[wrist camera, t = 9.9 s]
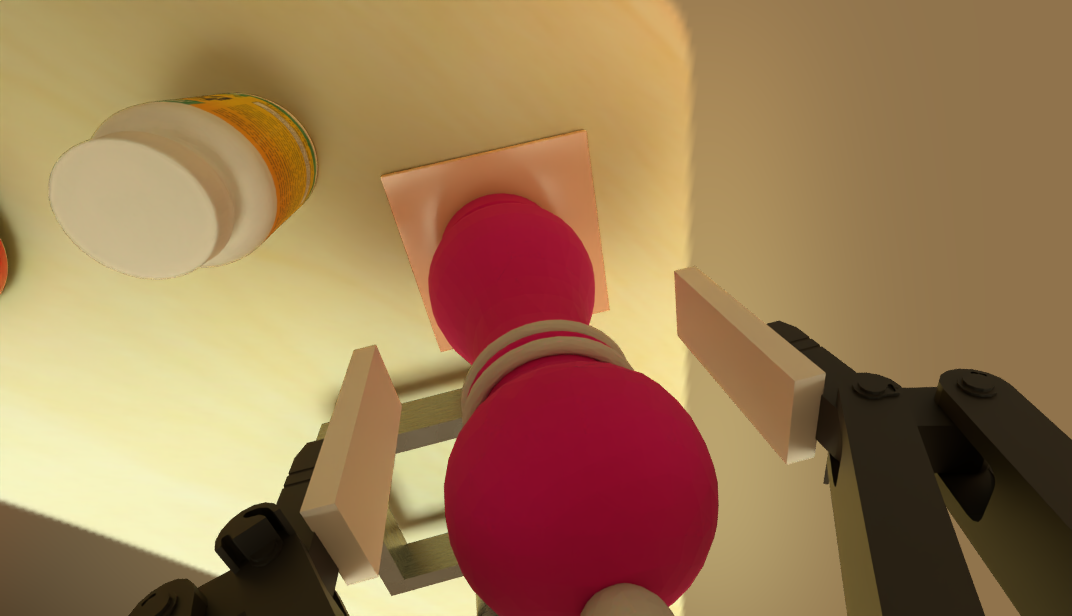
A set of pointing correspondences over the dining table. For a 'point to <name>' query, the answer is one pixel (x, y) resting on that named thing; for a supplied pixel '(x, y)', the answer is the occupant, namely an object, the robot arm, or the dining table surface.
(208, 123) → the supplement bottle
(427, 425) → the square frame with post
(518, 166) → the terracotta tile
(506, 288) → the pepper mill
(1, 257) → the soda can
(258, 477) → the dining table surface
